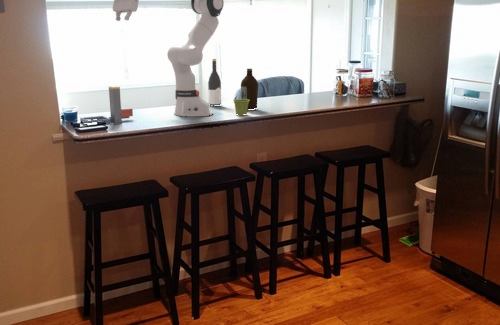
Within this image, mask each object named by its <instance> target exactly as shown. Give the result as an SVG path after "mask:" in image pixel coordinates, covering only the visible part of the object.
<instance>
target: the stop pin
mask: <svg viewBox="0 0 500 325" xmlns="http://www.w3.org/2000/svg"><path fill="white" fill-rule="evenodd" d="M108 96H109V106H110V107H109V110H110V117H111V124H112V125H119V124H122V123H123V119H122V116H121V109H122V105H121V104H122V102H121V86H117V85H116V86H115V85H113V86H112V85H111V86H108Z"/></svg>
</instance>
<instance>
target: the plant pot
mask: <svg viewBox="0 0 500 325" xmlns="http://www.w3.org/2000/svg"><path fill="white" fill-rule="evenodd" d="M249 101H250V100H247V99H241V98H236V99H235V98H234V99H233V103H234V108H235V115H236V114H238V115H241V116H243V115H242V114H247V115H248V111H247V109H248V103H249ZM238 115H237V116H238Z"/></svg>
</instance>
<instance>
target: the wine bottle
mask: <svg viewBox="0 0 500 325" xmlns="http://www.w3.org/2000/svg"><path fill="white" fill-rule="evenodd" d="M211 62H212V63H211V64H212V65H211V66H212V71H211V73H210V76H209V78H208V83H207V86H208V105H209V104H210V105H220V104H221V105H222V82H221V77H220V75H219V74H218V71H217V58H212V61H211Z"/></svg>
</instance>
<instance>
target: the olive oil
mask: <svg viewBox="0 0 500 325" xmlns="http://www.w3.org/2000/svg"><path fill="white" fill-rule="evenodd" d="M258 91H259V83H258V79H256V77H254V75H253V68H246V75H245V77H244V78H243V79H241V83H240V97H241V98H240V99H247V100H250V101H249V103H248V109H254V108H257V109H258V98H259V97H258V96H259V95H258V94H259V92H258Z"/></svg>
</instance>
